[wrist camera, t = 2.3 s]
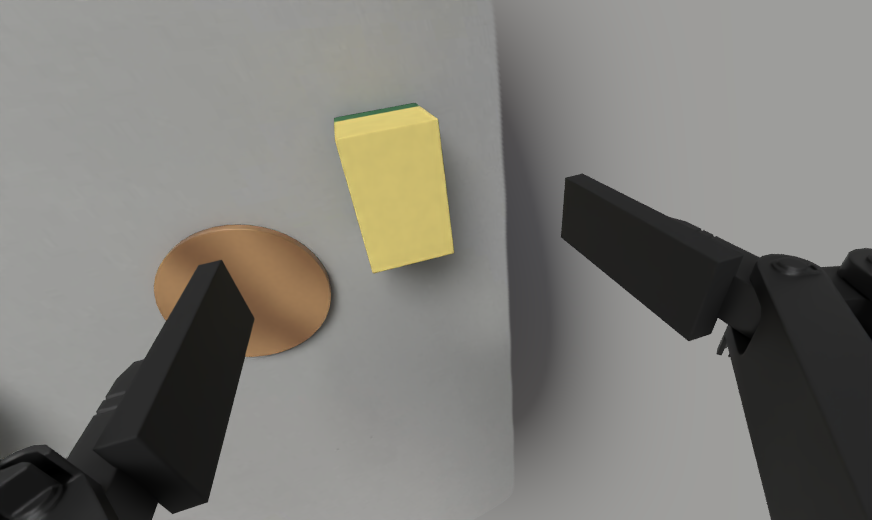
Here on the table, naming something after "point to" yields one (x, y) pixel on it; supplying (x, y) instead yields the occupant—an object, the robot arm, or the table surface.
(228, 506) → the table surface
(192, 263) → the coaster
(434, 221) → the sponge
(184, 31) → the table surface
